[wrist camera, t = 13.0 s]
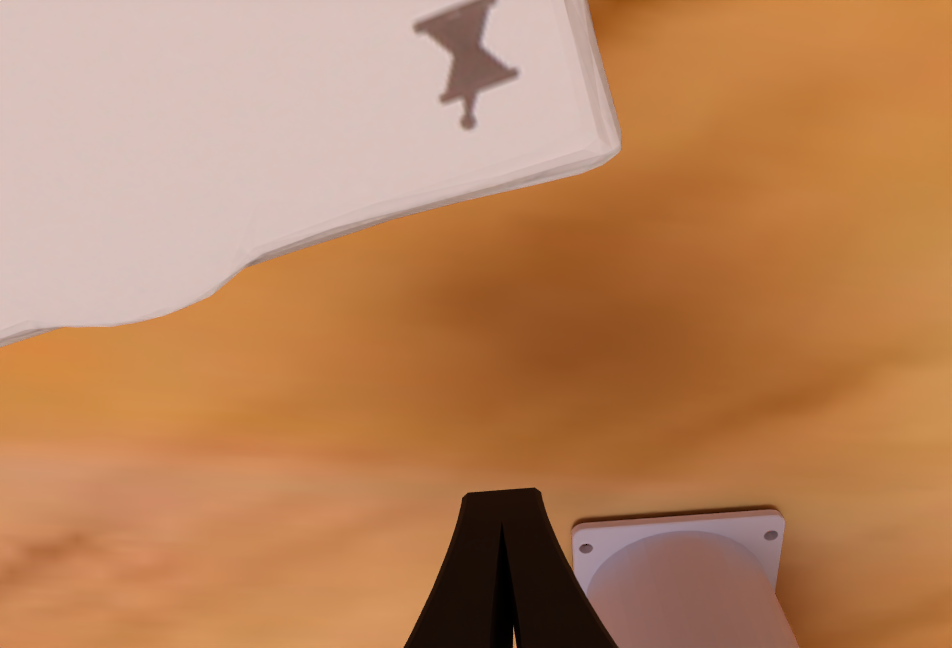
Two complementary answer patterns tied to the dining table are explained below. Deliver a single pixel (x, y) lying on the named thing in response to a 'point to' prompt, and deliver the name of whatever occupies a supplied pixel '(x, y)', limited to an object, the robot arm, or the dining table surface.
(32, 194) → the skincare box
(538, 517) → the robot arm
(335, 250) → the dining table surface
